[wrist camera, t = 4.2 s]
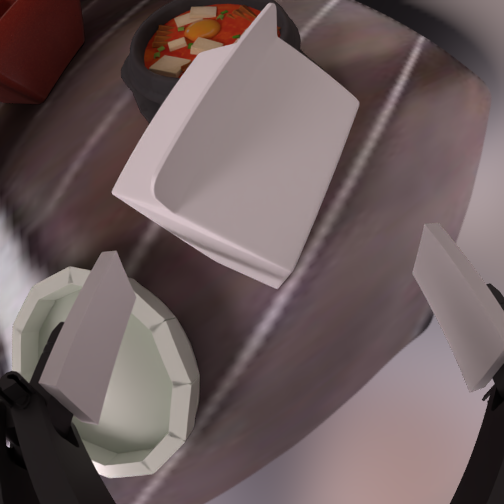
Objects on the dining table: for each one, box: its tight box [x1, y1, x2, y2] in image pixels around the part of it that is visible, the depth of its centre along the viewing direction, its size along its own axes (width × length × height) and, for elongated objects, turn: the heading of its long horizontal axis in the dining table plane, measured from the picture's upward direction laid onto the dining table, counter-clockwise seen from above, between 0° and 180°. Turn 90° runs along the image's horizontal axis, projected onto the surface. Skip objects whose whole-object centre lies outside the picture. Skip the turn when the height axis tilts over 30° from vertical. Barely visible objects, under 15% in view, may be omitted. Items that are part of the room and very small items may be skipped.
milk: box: [112, 3, 359, 289], centre depth 16 cm, size 6×6×22 cm
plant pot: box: [0, 0, 85, 104], centre depth 25 cm, size 19×19×17 cm
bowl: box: [12, 266, 200, 478], centre depth 24 cm, size 20×20×4 cm
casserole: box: [121, 0, 328, 123], centre depth 26 cm, size 25×19×8 cm
